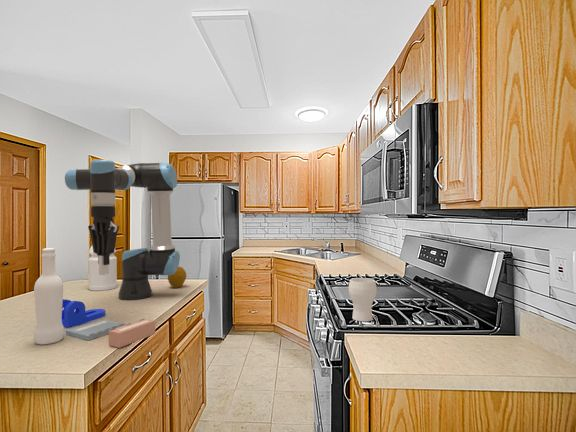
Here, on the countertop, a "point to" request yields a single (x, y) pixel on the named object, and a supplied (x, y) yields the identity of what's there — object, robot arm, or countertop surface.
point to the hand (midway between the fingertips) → (104, 274)
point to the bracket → (78, 313)
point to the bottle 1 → (48, 302)
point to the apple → (177, 278)
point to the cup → (362, 297)
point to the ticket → (93, 329)
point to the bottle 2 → (101, 281)
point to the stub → (131, 332)
